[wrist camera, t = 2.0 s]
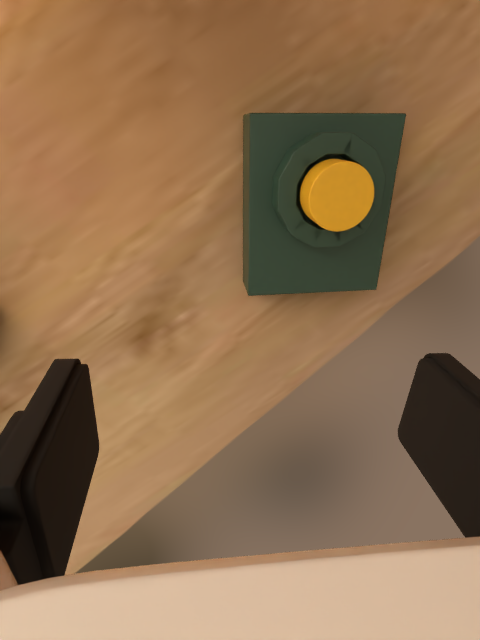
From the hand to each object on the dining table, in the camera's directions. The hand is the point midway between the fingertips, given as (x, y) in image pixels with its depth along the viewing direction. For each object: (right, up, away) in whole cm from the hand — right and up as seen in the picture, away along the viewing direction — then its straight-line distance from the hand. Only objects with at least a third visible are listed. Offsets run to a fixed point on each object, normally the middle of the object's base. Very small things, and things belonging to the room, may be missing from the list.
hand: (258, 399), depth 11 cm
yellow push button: (+5, +10, +14) cm, 18 cm away
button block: (+5, +11, +18) cm, 22 cm away
